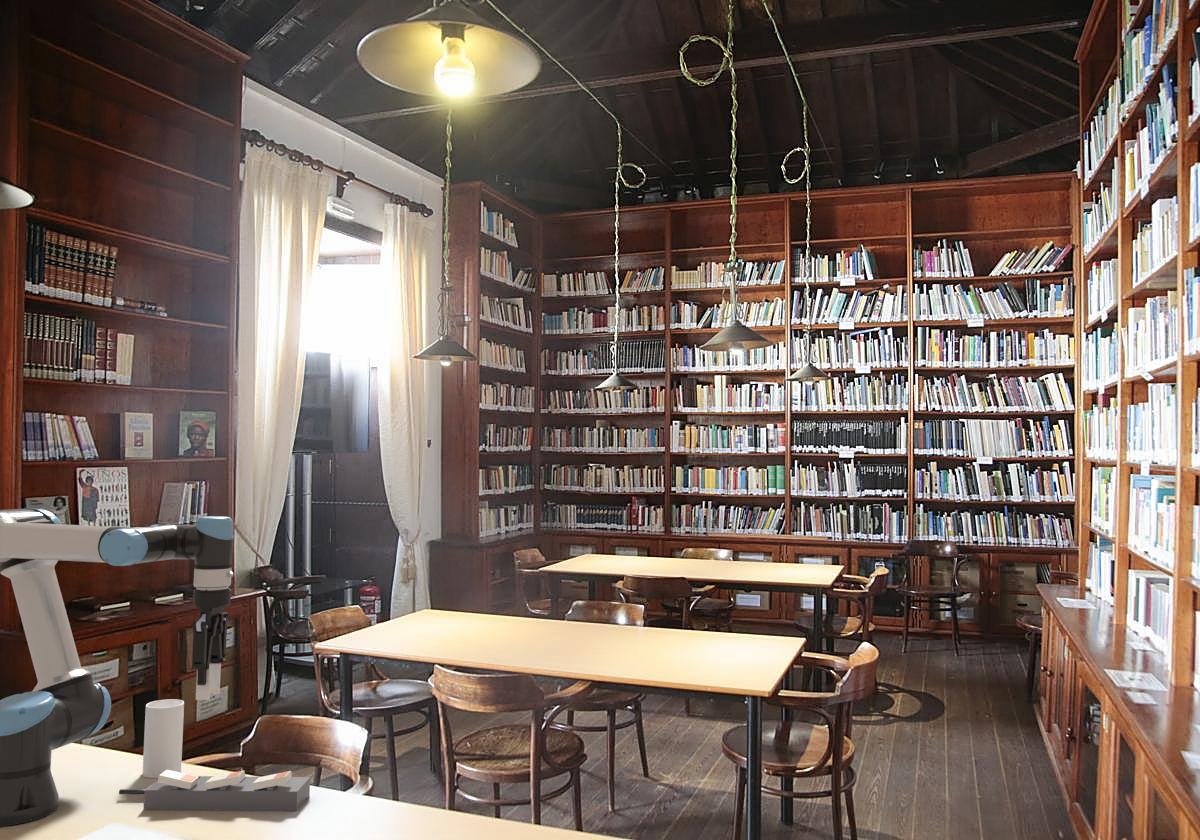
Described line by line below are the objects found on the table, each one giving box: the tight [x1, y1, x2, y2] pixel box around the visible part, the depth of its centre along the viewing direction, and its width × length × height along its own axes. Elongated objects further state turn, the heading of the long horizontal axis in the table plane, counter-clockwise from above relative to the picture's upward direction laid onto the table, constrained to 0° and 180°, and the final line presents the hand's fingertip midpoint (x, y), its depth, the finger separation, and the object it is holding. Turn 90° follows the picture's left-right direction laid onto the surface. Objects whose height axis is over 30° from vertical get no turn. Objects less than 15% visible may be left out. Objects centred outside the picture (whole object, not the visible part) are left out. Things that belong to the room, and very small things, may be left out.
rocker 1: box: [157, 770, 199, 789], centre depth 191 cm, size 7×4×2 cm, turn 91°
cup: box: [142, 698, 185, 779], centre depth 212 cm, size 8×8×16 cm
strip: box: [118, 775, 311, 812], centre depth 193 cm, size 40×9×4 cm, turn 91°
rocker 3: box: [253, 770, 293, 790], centre depth 191 cm, size 7×4×2 cm, turn 92°
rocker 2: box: [205, 770, 246, 790], centre depth 191 cm, size 7×4×2 cm, turn 92°
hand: (207, 696), depth 193 cm, fingers open, 4 cm apart
